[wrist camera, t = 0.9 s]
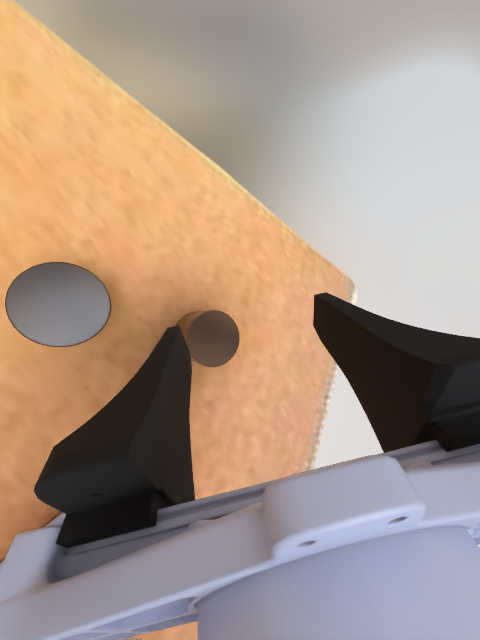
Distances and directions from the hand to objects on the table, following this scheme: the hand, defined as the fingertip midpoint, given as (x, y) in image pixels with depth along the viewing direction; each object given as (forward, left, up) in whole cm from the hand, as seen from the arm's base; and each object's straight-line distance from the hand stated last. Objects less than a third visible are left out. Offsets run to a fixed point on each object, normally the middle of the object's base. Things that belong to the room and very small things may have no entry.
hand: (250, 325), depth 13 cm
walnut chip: (-7, +6, -10) cm, 13 cm away
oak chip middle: (+1, -2, -12) cm, 12 cm away
